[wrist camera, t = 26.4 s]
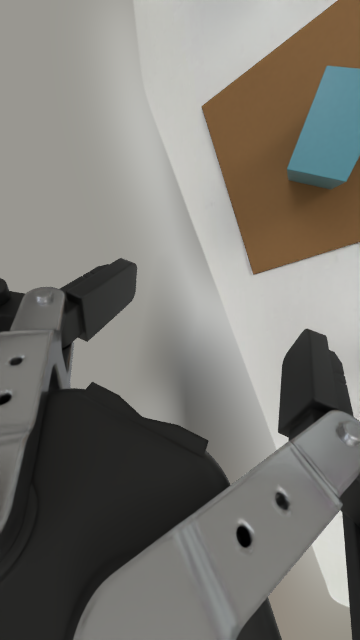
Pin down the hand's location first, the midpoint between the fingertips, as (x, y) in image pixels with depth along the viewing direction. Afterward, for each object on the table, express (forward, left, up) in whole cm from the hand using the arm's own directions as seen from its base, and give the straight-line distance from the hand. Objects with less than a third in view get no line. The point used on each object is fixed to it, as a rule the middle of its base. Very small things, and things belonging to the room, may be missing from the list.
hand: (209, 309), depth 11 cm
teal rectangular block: (-1, +11, -22) cm, 24 cm away
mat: (-1, +11, -22) cm, 25 cm away
